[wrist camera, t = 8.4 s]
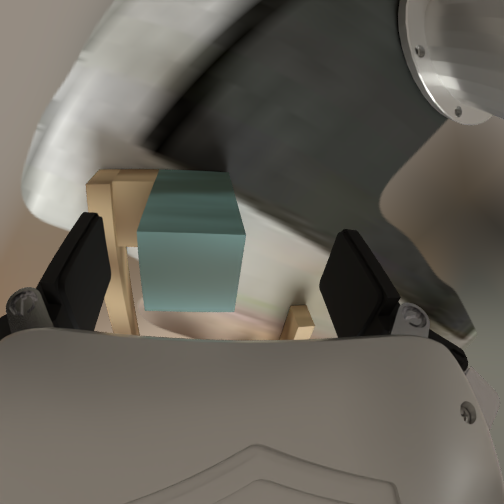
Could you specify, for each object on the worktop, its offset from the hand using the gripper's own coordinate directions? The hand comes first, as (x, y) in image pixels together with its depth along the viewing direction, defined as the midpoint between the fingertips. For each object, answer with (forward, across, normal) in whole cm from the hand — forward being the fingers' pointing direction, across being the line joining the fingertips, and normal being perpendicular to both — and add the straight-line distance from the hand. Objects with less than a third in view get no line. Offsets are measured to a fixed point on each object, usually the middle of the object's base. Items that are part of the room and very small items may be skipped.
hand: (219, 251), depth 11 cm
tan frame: (+6, +2, +11) cm, 13 cm away
